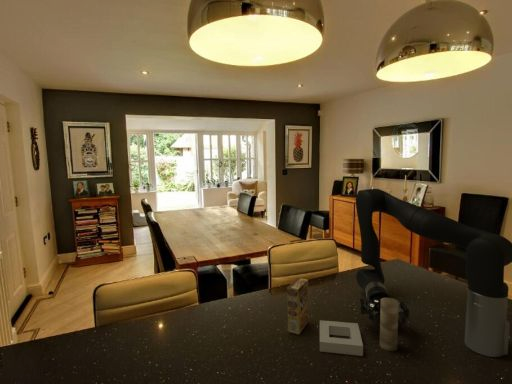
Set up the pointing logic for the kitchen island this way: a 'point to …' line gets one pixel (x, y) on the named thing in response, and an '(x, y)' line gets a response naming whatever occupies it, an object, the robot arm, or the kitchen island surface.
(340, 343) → the socket block
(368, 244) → the robot arm
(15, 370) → the kitchen island surface
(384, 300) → the peg
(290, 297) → the candy box
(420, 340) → the kitchen island surface
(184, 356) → the kitchen island surface
